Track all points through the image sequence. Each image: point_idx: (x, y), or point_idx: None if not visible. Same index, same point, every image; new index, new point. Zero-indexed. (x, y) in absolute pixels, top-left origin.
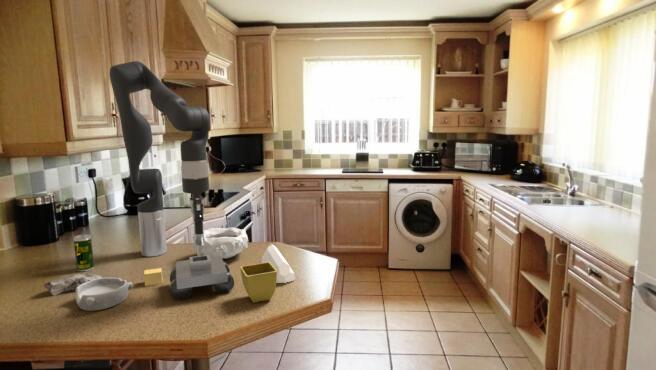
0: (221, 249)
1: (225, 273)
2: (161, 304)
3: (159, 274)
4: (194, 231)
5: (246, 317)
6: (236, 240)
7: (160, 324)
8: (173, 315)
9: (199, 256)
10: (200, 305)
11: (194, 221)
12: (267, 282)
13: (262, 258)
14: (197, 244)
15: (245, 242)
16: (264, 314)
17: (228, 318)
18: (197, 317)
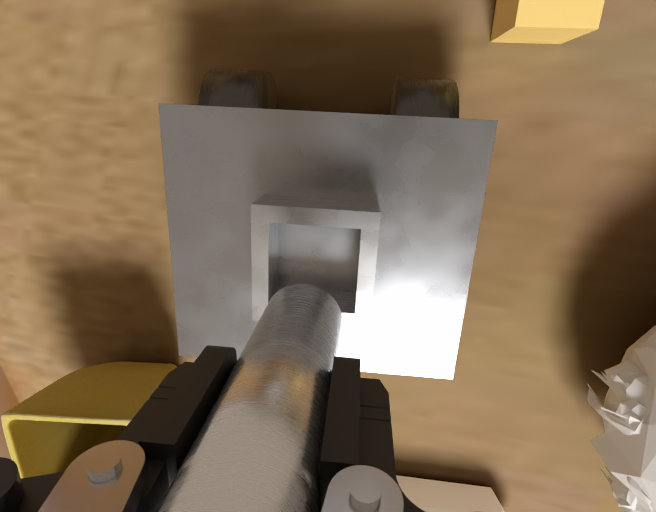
0: (619, 401)
1: (181, 344)
2: (219, 33)
3: (511, 16)
4: (261, 349)
5: (20, 317)
6: (642, 509)
7: (25, 25)
8: (93, 82)
9: (361, 273)
10: (156, 193)
11: (82, 455)
12: (57, 454)
13: (498, 506)
14: (269, 302)
15: None
16: (30, 367)
17: (25, 266)
18: (54, 170)
